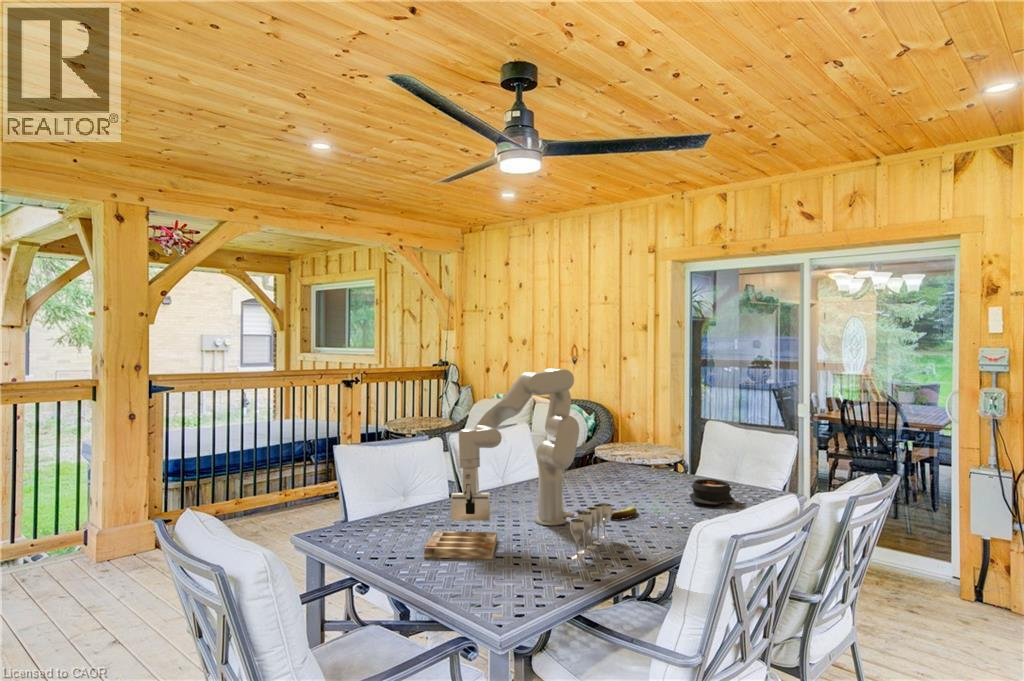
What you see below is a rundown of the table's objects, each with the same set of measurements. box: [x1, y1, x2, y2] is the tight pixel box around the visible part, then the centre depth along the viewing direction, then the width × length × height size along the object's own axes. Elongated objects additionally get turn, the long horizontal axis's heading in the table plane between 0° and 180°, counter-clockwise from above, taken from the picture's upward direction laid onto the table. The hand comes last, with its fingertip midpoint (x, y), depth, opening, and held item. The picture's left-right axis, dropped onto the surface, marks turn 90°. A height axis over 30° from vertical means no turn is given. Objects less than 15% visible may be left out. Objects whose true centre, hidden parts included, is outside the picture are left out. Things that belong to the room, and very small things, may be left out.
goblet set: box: [569, 502, 614, 561], centre depth 202 cm, size 28×6×13 cm, turn 148°
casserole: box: [689, 478, 734, 506], centre depth 263 cm, size 25×19×8 cm
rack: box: [423, 530, 498, 560], centre depth 200 cm, size 22×18×3 cm
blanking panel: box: [450, 492, 491, 522], centre depth 217 cm, size 14×3×10 cm, turn 86°
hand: (470, 512), depth 217 cm, fingers closed on blanking panel, 2 cm apart
